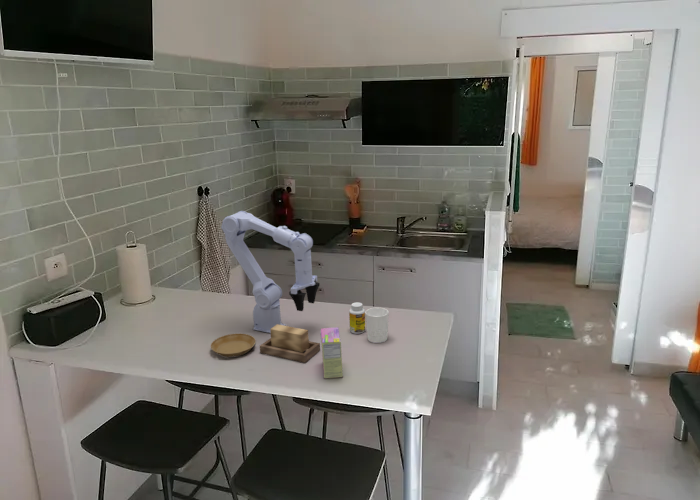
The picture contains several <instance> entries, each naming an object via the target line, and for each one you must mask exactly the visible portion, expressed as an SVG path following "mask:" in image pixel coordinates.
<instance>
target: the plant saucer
mask: <svg viewBox="0 0 700 500" xmlns="http://www.w3.org/2000/svg"><path fill="white" fill-rule="evenodd" d="M256 341H257V340H256V338H255V337H254V336H252V335H251V334H247V333H229V334H225V335H222V336H219V337H217V338H216V339H214V340H213V341H212V342H211V343H210V349H211V350H212V352H214V353H215V354H216V355H219V356H220V357H223V358H235V357H240V356H243V355H245V354H247V353H248V352H250V350H251V349H252V348H253V347H254V346H255V345H256Z"/></svg>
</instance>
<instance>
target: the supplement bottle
mask: <svg viewBox="0 0 700 500" xmlns="http://www.w3.org/2000/svg"><path fill="white" fill-rule="evenodd" d="M365 311H366V309H365V308H364V307H363V303H362V302H353V303H351V307H350V308H349V312H348V314H349V317H348V318H349V332H350V333H352V334H353V335H354V334H356V335H359V334H363V333H364V332H365V331H366V316H365Z"/></svg>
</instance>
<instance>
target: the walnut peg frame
mask: <svg viewBox="0 0 700 500" xmlns="http://www.w3.org/2000/svg"><path fill="white" fill-rule="evenodd" d="M320 351H321V343H320V342H317V341H316V342H315V341H310V340H309V348H307V349H306V350H305V351H304V352H299V351H294V350H290V349H285V348H280V347H276V346H272V344H271V337H270V338H269V339H267V340H266V341H264V342H263V343H261V344H260V345H259V353H260V354H262V355H263V354H264V355H267V356H271V357H276V358H281V359H286V360H290V361H293V362H298V363H303V364H306V363H307V362H309V361H310V360H311V359H312V358H313V357H315V356H316V355H317V354H318V353H319V352H320Z"/></svg>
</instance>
